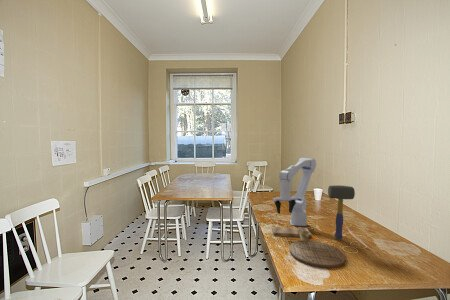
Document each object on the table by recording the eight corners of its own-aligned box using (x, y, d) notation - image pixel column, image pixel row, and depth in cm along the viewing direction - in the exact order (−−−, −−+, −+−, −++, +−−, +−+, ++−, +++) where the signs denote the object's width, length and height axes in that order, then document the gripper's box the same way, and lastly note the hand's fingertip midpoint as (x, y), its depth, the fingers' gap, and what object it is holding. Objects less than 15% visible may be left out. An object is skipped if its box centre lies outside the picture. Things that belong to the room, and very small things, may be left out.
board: (307, 231, 147) (307, 228, 147) (311, 237, 138) (311, 234, 138) (271, 229, 148) (271, 226, 148) (273, 235, 139) (273, 232, 139)
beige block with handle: (302, 232, 145) (302, 223, 145) (308, 242, 132) (309, 231, 131) (296, 232, 145) (296, 222, 145) (302, 241, 132) (302, 231, 132)
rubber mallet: (328, 241, 134) (331, 186, 132) (324, 235, 141) (327, 183, 140) (352, 243, 132) (356, 187, 130) (347, 237, 140) (350, 184, 138)
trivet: (353, 272, 104) (353, 267, 103) (292, 265, 108) (292, 261, 107) (336, 246, 128) (336, 242, 128) (287, 241, 132) (287, 238, 132)
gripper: (293, 188, 154) (292, 210, 155) (271, 189, 151) (270, 211, 152) (298, 191, 147) (297, 213, 148) (276, 191, 144) (275, 214, 145)
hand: (284, 212), depth 150 cm, fingers open, 7 cm apart
